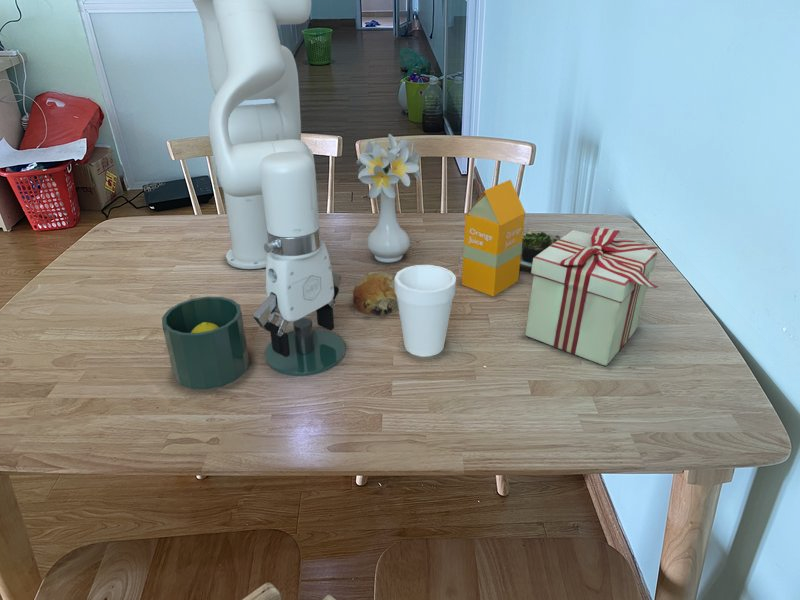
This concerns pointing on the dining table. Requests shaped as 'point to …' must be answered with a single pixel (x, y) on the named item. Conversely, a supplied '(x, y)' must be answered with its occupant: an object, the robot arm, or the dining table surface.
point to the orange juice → (493, 240)
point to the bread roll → (376, 294)
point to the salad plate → (534, 247)
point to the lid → (307, 351)
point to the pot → (206, 342)
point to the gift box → (589, 293)
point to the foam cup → (424, 307)
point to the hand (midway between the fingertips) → (304, 339)
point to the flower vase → (387, 195)
